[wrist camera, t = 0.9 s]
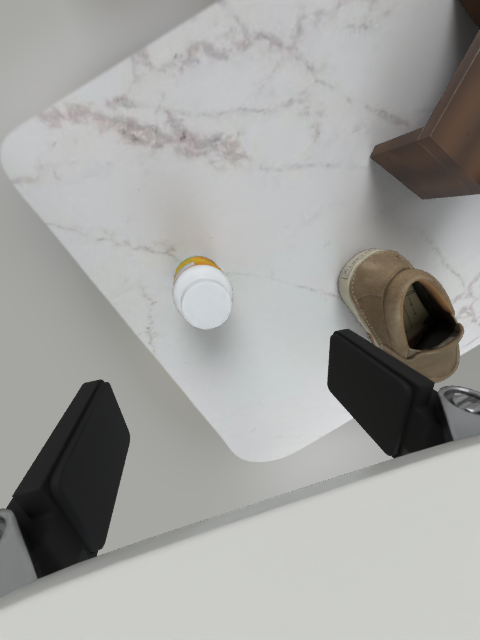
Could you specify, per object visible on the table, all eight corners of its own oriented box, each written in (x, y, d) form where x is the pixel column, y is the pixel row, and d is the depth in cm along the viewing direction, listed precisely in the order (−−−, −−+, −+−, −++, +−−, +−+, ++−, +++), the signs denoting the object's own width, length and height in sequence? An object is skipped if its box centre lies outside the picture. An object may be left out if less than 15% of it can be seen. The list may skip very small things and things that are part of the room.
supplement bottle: (230, 281, 28) (253, 308, 19) (196, 310, 28) (204, 349, 19) (199, 245, 25) (211, 256, 17) (163, 277, 26) (155, 305, 17)
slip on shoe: (447, 349, 42) (510, 378, 34) (399, 389, 44) (449, 427, 36) (385, 221, 30) (462, 221, 22) (320, 283, 31) (370, 305, 23)
